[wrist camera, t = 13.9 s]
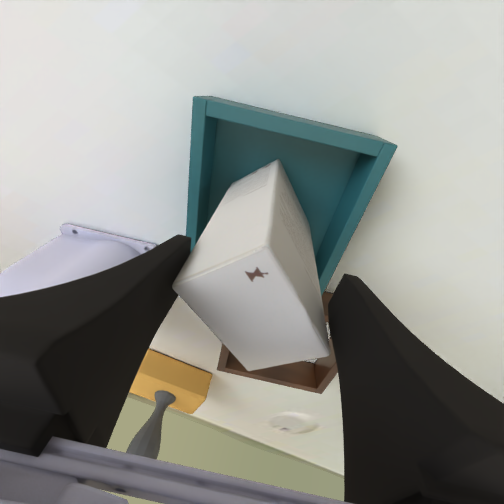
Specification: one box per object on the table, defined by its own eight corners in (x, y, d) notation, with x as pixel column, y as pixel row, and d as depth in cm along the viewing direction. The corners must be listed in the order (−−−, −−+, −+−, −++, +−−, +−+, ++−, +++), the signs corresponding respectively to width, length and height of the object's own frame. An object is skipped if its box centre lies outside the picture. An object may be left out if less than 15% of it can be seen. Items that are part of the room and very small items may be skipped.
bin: (197, 249, 23) (183, 272, 20) (210, 95, 16) (192, 95, 13) (314, 276, 23) (318, 303, 20) (377, 136, 16) (398, 145, 13)
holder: (222, 346, 31) (216, 370, 28) (239, 271, 24) (233, 293, 21) (318, 368, 31) (321, 394, 28) (363, 300, 24) (372, 325, 21)
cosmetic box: (229, 183, 19) (164, 284, 9) (279, 156, 17) (270, 241, 7) (265, 244, 21) (246, 375, 11) (311, 225, 20) (336, 358, 10)
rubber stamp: (213, 373, 35) (184, 484, 25) (199, 389, 38) (168, 494, 28) (148, 347, 33) (88, 455, 23) (139, 366, 36) (83, 469, 26)
